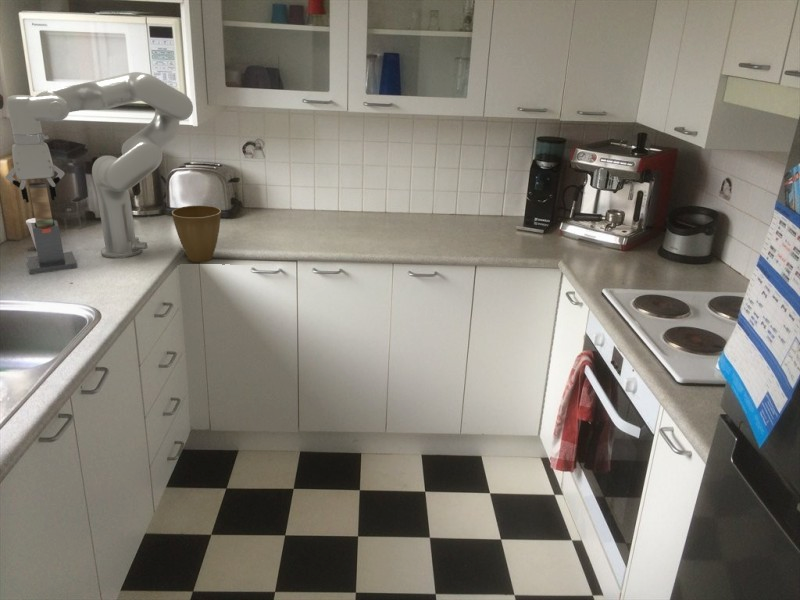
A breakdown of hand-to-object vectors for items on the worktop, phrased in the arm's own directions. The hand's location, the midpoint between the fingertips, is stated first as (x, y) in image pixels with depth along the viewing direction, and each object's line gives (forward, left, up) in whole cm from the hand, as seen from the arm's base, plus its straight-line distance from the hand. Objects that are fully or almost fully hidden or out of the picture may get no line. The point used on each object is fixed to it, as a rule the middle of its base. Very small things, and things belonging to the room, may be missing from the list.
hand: (40, 199), depth 197 cm
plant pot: (-43, -13, -21) cm, 49 cm away
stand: (0, 0, -21) cm, 21 cm away
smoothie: (+13, -15, -21) cm, 29 cm away
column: (0, 0, -14) cm, 14 cm away
